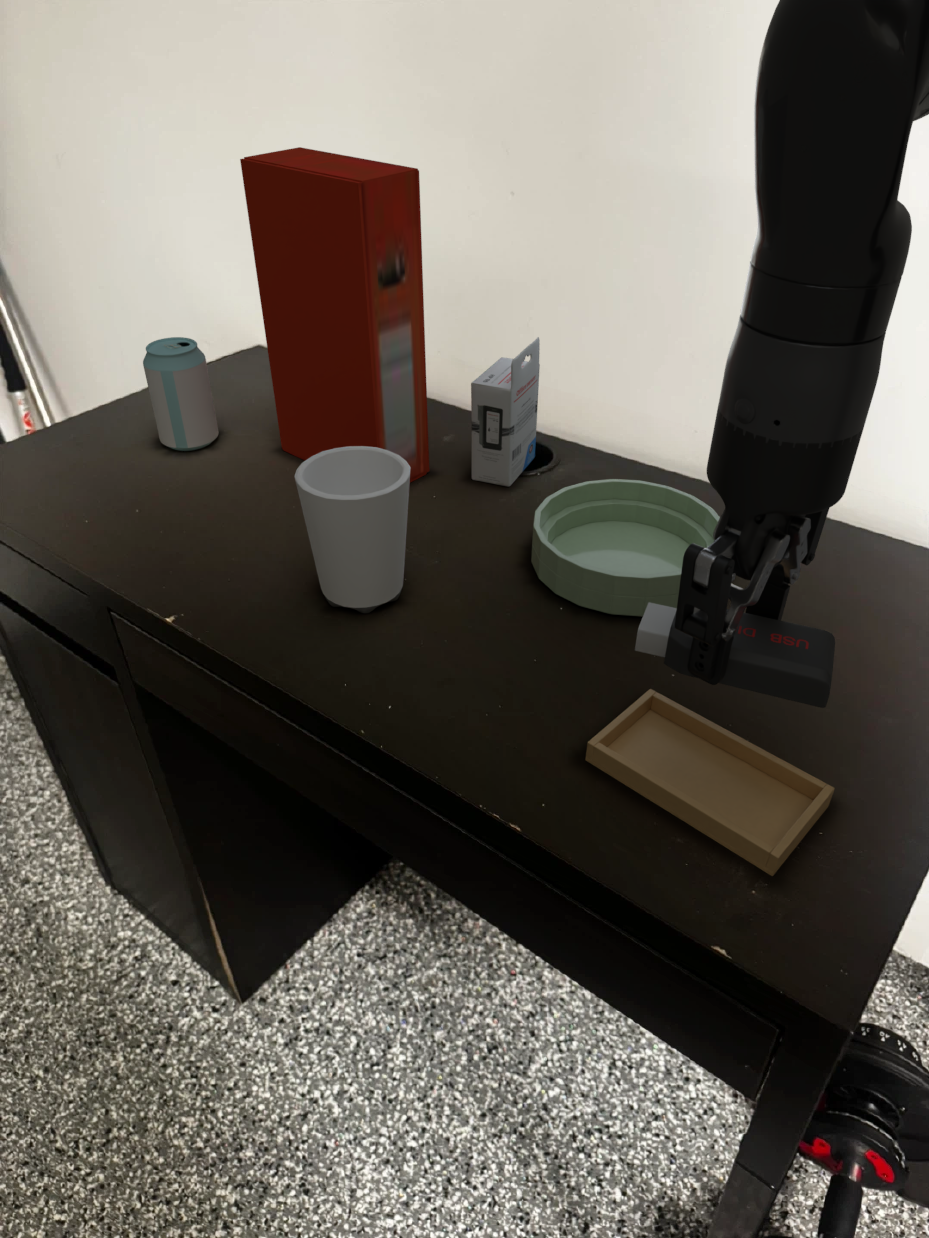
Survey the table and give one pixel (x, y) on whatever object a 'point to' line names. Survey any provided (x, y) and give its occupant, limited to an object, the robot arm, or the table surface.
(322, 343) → the file binder
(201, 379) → the can
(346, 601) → the cup
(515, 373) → the ink box
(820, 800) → the tray
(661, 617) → the usb drive
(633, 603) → the green round dish
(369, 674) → the table surface
